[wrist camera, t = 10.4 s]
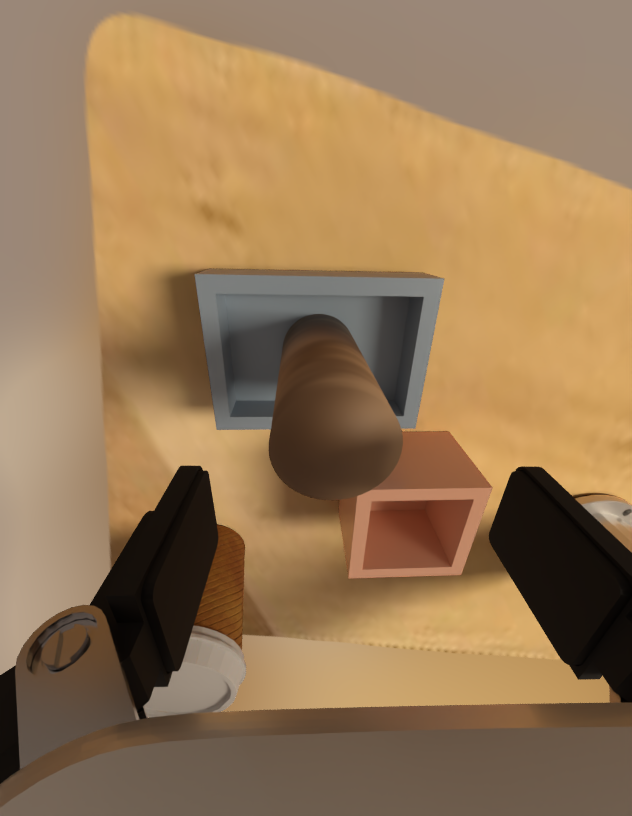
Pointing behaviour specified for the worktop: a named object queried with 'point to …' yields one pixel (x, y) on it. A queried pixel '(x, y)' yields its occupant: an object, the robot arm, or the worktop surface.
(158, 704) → the disposable coffee cup
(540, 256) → the worktop surface
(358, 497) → the terracotta open box
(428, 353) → the tray
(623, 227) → the worktop surface
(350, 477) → the peg
